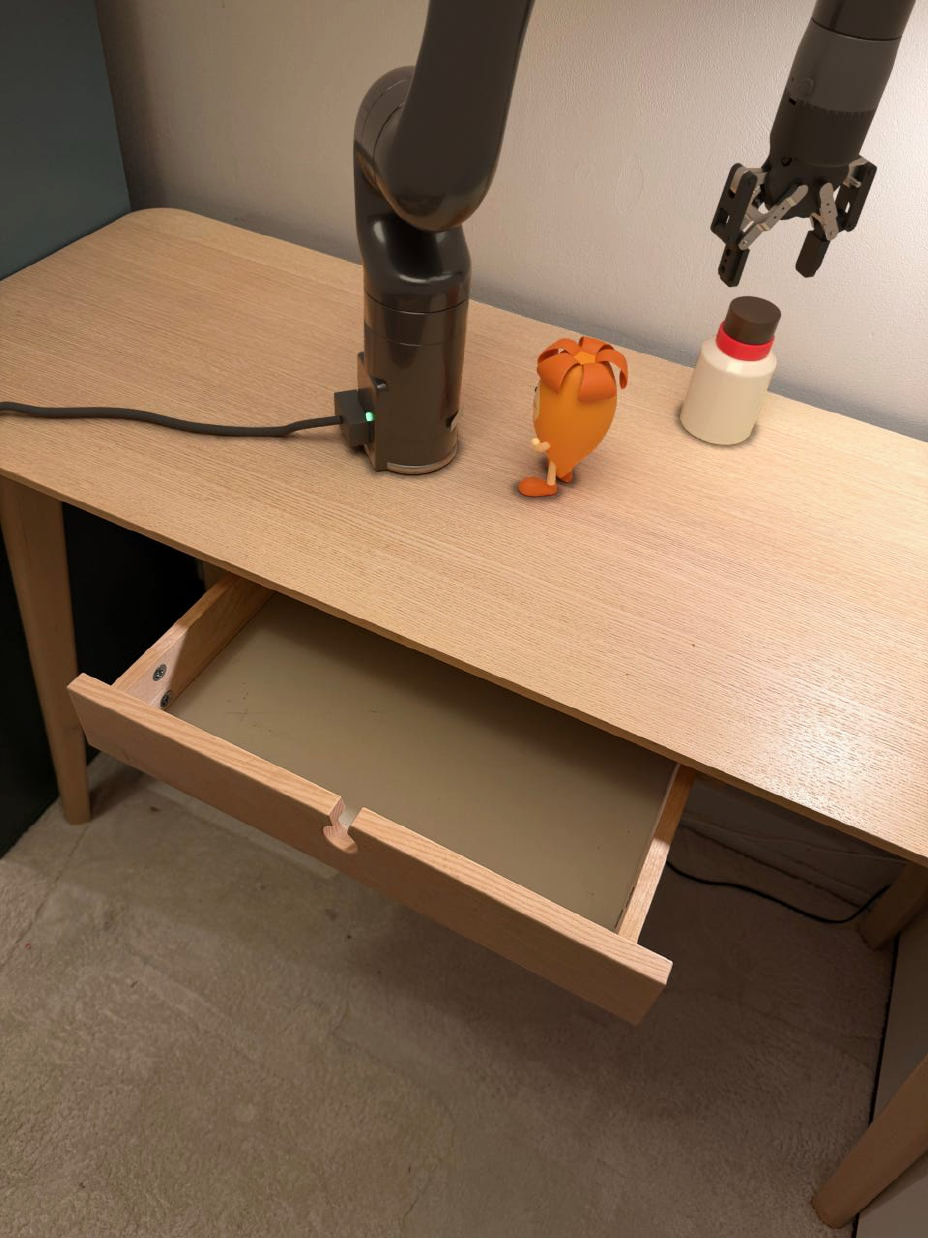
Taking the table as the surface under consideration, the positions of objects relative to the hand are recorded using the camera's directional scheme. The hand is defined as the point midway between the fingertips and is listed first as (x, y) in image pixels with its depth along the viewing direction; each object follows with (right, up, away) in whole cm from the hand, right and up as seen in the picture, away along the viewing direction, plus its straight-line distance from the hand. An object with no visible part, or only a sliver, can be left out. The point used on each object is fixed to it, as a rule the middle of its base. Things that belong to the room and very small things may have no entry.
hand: (765, 278), depth 85 cm
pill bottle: (-1, -11, +13) cm, 17 cm away
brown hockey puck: (0, -4, +4) cm, 6 cm away
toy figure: (-19, -19, +4) cm, 27 cm away
